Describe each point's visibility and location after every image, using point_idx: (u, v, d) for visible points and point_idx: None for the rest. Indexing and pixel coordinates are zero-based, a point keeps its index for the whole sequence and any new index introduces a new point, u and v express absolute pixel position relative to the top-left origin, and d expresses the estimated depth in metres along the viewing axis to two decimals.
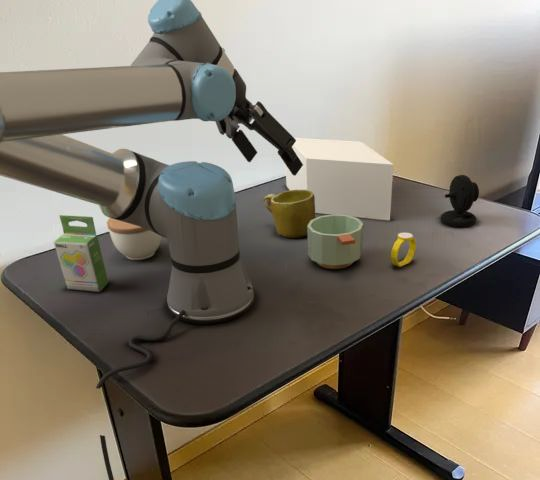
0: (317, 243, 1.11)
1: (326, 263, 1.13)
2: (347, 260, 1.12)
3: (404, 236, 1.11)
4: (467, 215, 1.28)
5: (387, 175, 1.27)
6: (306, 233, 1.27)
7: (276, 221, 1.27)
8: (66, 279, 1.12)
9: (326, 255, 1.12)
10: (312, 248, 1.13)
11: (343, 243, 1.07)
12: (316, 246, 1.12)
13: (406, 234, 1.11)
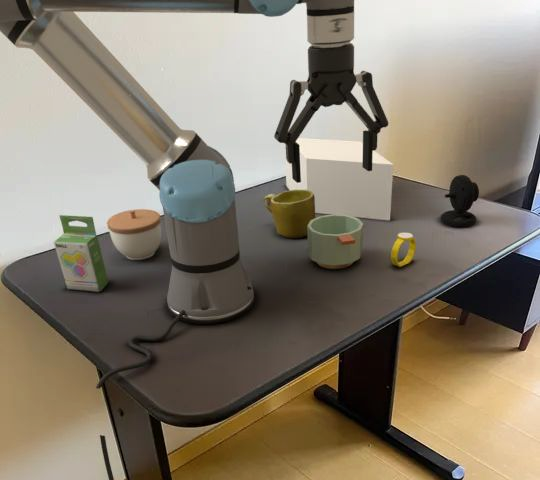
0: (317, 243, 1.11)
1: (326, 263, 1.13)
2: (347, 260, 1.12)
3: (404, 236, 1.11)
4: (467, 215, 1.28)
5: (387, 175, 1.27)
6: (306, 233, 1.27)
7: (276, 221, 1.27)
8: (66, 279, 1.12)
9: (326, 255, 1.12)
10: (312, 248, 1.13)
11: (343, 243, 1.07)
12: (316, 246, 1.12)
13: (406, 234, 1.11)
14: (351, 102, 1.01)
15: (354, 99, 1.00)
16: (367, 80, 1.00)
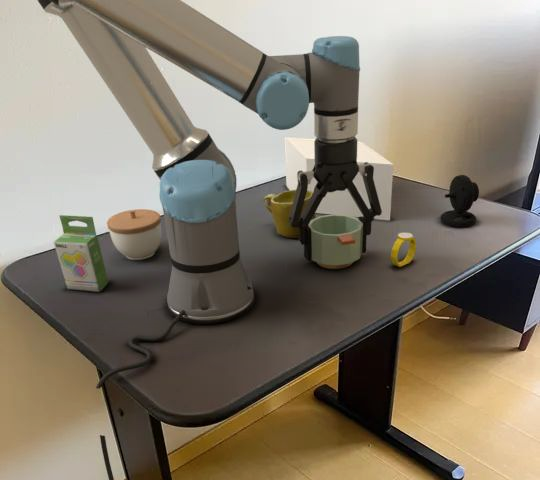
0: (317, 243, 1.11)
1: (326, 263, 1.13)
2: (347, 260, 1.12)
3: (404, 236, 1.11)
4: (467, 215, 1.28)
5: (387, 175, 1.27)
6: None
7: (276, 221, 1.27)
8: (66, 279, 1.12)
9: (326, 255, 1.12)
10: (312, 248, 1.13)
11: (343, 243, 1.07)
12: (316, 246, 1.12)
13: (406, 234, 1.11)
14: (351, 190, 1.08)
15: (354, 188, 1.08)
16: (369, 172, 1.08)
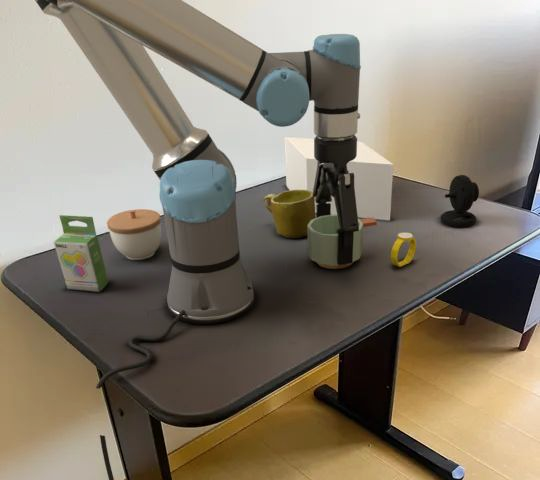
0: (355, 241, 1.11)
1: (360, 255, 1.15)
2: None
3: (404, 236, 1.11)
4: (467, 215, 1.28)
5: (387, 175, 1.27)
6: (306, 233, 1.27)
7: (276, 221, 1.27)
8: (66, 279, 1.12)
9: (360, 247, 1.14)
10: None
11: (376, 223, 1.14)
12: (355, 244, 1.11)
13: (406, 234, 1.11)
14: None
15: None
16: None
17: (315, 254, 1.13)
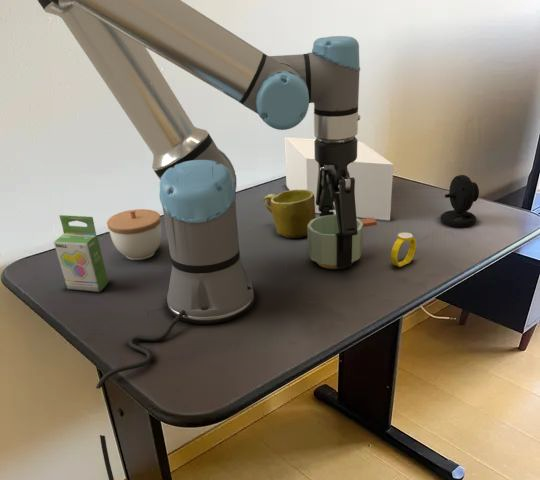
0: (355, 241, 1.11)
1: (360, 255, 1.15)
2: None
3: (404, 236, 1.11)
4: (467, 215, 1.28)
5: (387, 175, 1.27)
6: (306, 233, 1.27)
7: (276, 221, 1.27)
8: (66, 279, 1.12)
9: (360, 247, 1.14)
10: None
11: (376, 223, 1.14)
12: (355, 244, 1.11)
13: (406, 234, 1.11)
14: None
15: None
16: None
17: (315, 254, 1.13)
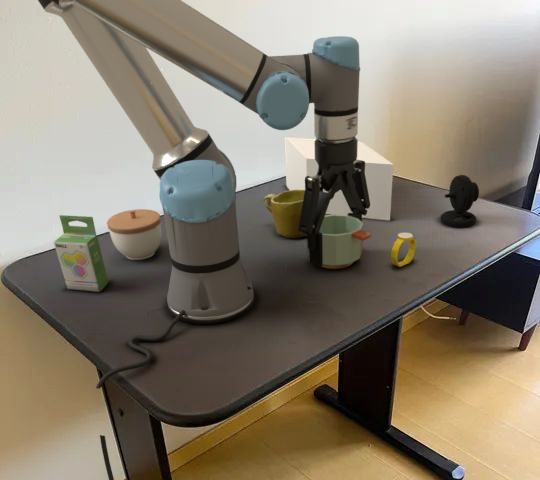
0: (329, 245, 1.10)
1: (340, 263, 1.12)
2: (357, 256, 1.13)
3: (404, 236, 1.11)
4: (467, 215, 1.28)
5: (387, 175, 1.27)
6: None
7: (276, 221, 1.27)
8: (66, 279, 1.12)
9: (340, 255, 1.11)
10: (323, 252, 1.11)
11: (363, 239, 1.08)
12: (329, 248, 1.11)
13: (406, 234, 1.11)
14: (351, 187, 1.10)
15: (353, 184, 1.10)
16: (361, 167, 1.10)
17: None
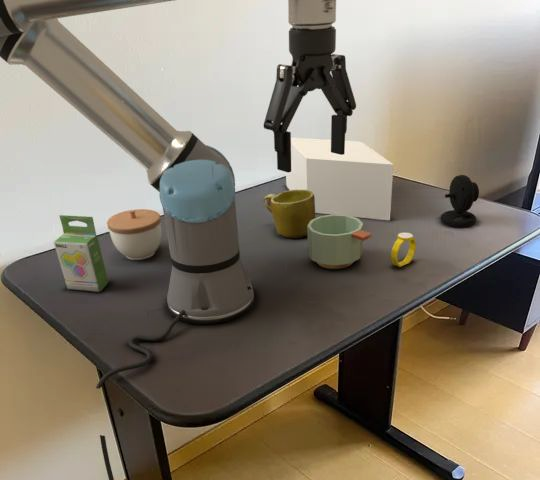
0: (329, 245, 1.10)
1: (340, 263, 1.12)
2: (357, 256, 1.13)
3: (404, 236, 1.11)
4: (467, 215, 1.28)
5: (387, 175, 1.27)
6: (306, 233, 1.27)
7: (276, 221, 1.27)
8: (66, 279, 1.12)
9: (340, 255, 1.11)
10: (323, 252, 1.11)
11: (364, 239, 1.08)
12: (329, 248, 1.11)
13: (406, 234, 1.11)
14: (331, 85, 1.00)
15: (333, 82, 1.00)
16: (342, 63, 1.00)
17: None
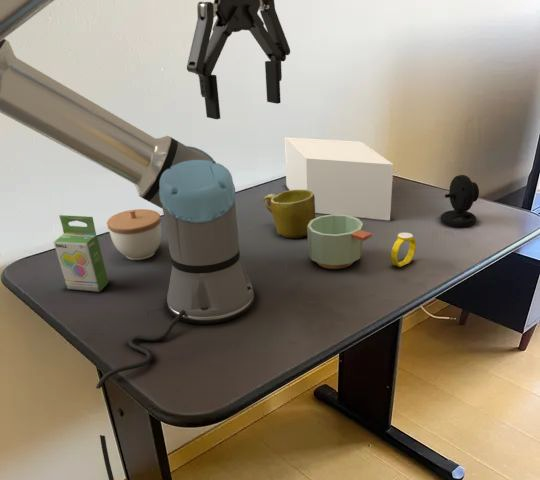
0: (329, 245, 1.10)
1: (340, 263, 1.12)
2: (357, 256, 1.13)
3: (404, 236, 1.11)
4: (467, 215, 1.28)
5: (387, 175, 1.27)
6: (306, 233, 1.27)
7: (276, 221, 1.27)
8: (66, 279, 1.12)
9: (340, 255, 1.11)
10: (323, 252, 1.11)
11: (364, 239, 1.08)
12: (329, 248, 1.11)
13: (406, 234, 1.11)
14: (259, 26, 0.96)
15: (261, 22, 0.96)
16: (270, 3, 0.96)
17: None
